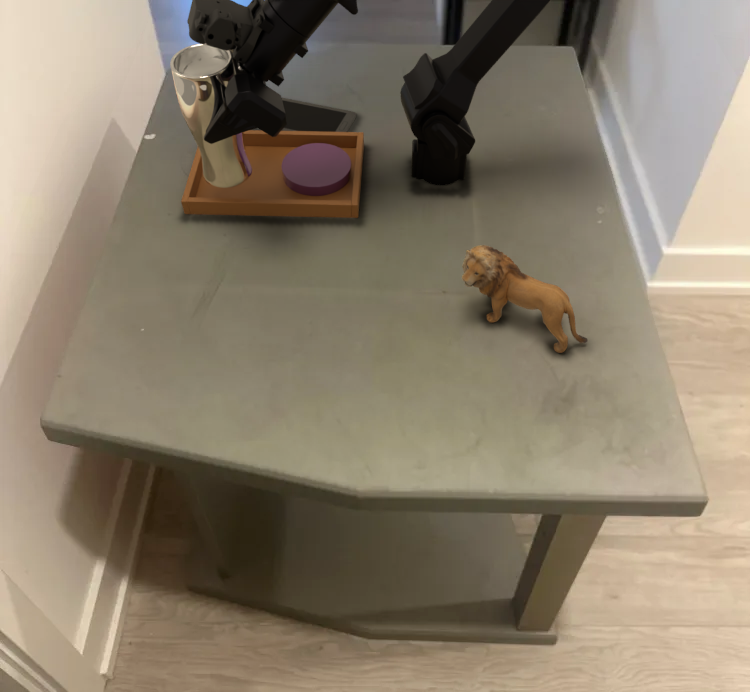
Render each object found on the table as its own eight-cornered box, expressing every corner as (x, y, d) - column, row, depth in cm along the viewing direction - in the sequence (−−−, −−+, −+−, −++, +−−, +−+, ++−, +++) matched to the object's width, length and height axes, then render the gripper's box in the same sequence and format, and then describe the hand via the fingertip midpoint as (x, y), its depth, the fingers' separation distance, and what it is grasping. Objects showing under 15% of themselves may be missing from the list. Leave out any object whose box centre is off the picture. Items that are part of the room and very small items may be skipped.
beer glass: (220, 199, 87) (191, 87, 75) (188, 171, 90) (155, 59, 78) (268, 172, 90) (247, 60, 78) (235, 146, 93) (210, 34, 81)
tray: (363, 149, 101) (363, 132, 99) (358, 222, 92) (357, 205, 90) (206, 146, 101) (202, 129, 99) (185, 218, 92) (180, 201, 90)
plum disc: (353, 152, 99) (353, 143, 98) (349, 197, 93) (349, 187, 92) (286, 151, 99) (285, 142, 98) (278, 195, 94) (277, 186, 93)
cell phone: (340, 147, 101) (340, 142, 100) (247, 127, 104) (247, 123, 103) (358, 117, 105) (358, 112, 105) (269, 99, 108) (268, 94, 107)
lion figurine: (449, 318, 82) (456, 261, 75) (466, 286, 85) (473, 228, 78) (580, 361, 78) (599, 305, 71) (592, 326, 81) (612, 268, 74)
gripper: (216, -74, 77) (138, 40, 85) (234, 14, 66) (142, 136, 73) (298, -9, 84) (219, 91, 92) (328, 81, 73) (235, 186, 80)
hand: (204, 122), depth 84 cm, fingers closed on beer glass, 7 cm apart
